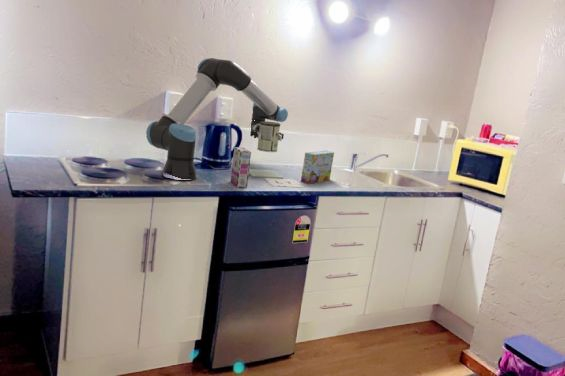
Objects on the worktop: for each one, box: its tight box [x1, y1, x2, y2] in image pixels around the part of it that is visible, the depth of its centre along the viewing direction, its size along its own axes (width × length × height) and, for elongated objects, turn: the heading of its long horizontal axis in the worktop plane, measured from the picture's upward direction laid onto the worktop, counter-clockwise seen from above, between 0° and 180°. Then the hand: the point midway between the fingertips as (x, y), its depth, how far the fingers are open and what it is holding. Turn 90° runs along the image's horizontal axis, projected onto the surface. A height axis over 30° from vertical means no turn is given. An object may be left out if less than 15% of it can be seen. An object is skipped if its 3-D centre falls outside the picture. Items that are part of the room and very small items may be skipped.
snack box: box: [300, 150, 335, 185], centre depth 250 cm, size 21×6×15 cm, turn 146°
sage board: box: [248, 168, 284, 179], centre depth 252 cm, size 16×16×1 cm
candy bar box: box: [230, 146, 252, 189], centre depth 220 cm, size 11×5×16 cm, turn 22°
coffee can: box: [257, 120, 281, 153], centre depth 247 cm, size 10×10×14 cm
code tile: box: [264, 178, 305, 189], centre depth 238 cm, size 16×16×1 cm
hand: (270, 137), depth 243 cm, fingers closed on coffee can, 10 cm apart
